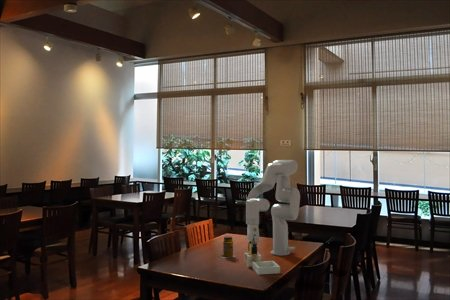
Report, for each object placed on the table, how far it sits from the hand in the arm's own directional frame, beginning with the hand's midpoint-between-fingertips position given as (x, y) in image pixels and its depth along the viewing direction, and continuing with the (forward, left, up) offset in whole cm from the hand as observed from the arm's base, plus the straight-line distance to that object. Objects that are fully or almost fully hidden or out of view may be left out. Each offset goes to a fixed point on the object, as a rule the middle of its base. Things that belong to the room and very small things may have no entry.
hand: (252, 252), depth 228 cm
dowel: (0, 0, -7) cm, 7 cm away
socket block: (0, 0, -7) cm, 7 cm away
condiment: (+11, -22, -7) cm, 26 cm away
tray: (-4, +13, -7) cm, 15 cm away
